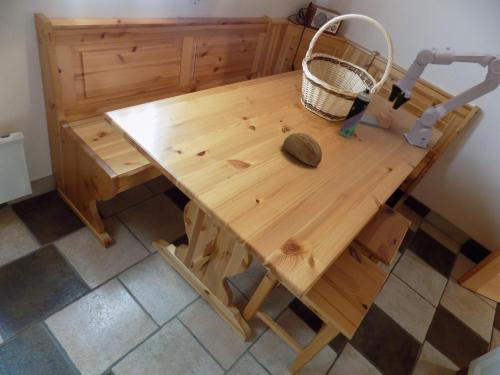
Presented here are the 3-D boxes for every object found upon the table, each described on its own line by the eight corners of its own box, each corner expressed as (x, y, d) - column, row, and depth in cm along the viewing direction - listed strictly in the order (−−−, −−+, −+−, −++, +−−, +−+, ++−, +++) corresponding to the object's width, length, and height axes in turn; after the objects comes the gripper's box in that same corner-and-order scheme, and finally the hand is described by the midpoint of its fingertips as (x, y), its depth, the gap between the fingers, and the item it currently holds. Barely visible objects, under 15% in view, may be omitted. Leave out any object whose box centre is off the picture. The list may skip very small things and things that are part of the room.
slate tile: (379, 128, 146) (380, 125, 146) (359, 123, 145) (360, 120, 144) (373, 117, 154) (374, 115, 153) (354, 112, 153) (355, 110, 152)
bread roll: (309, 173, 104) (318, 153, 99) (274, 149, 110) (281, 129, 105) (323, 164, 111) (332, 145, 106) (290, 142, 117) (297, 123, 112)
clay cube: (387, 129, 148) (393, 119, 145) (378, 126, 148) (383, 117, 145) (384, 123, 152) (389, 114, 149) (374, 121, 152) (380, 112, 148)
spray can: (337, 133, 131) (359, 88, 119) (340, 128, 136) (362, 84, 123) (349, 139, 130) (373, 94, 118) (352, 134, 134) (376, 90, 122)
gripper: (398, 67, 140) (380, 95, 149) (407, 80, 129) (388, 109, 138) (412, 73, 141) (394, 99, 150) (422, 86, 130) (402, 114, 139)
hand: (392, 104), depth 144 cm, fingers open, 7 cm apart
